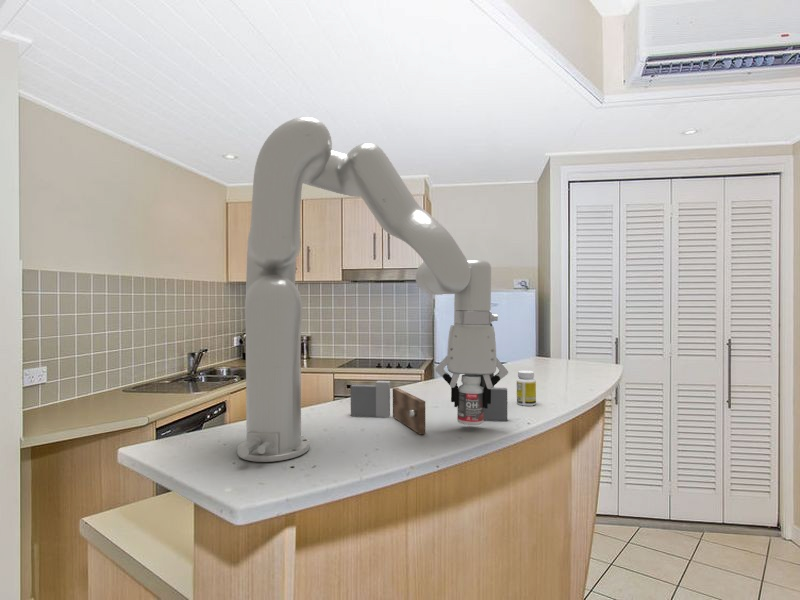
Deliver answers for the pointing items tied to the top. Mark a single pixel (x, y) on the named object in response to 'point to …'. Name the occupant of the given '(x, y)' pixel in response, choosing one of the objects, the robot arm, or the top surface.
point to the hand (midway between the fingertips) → (470, 405)
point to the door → (409, 410)
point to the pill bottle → (470, 400)
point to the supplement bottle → (526, 388)
